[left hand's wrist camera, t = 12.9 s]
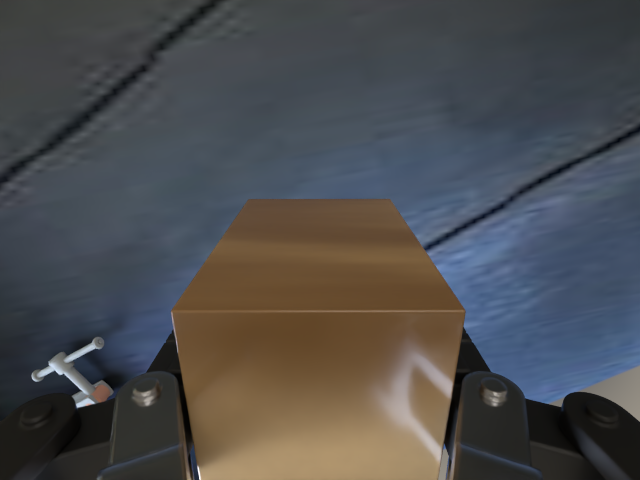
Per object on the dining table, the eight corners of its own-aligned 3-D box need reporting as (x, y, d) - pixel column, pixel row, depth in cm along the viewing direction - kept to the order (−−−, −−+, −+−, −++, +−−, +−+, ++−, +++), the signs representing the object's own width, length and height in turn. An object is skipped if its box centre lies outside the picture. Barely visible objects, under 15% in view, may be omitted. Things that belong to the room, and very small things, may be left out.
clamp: (40, 487, 34) (-47, 417, 31) (56, 465, 37) (-24, 397, 33) (168, 426, 32) (87, 343, 29) (177, 406, 34) (102, 326, 31)
